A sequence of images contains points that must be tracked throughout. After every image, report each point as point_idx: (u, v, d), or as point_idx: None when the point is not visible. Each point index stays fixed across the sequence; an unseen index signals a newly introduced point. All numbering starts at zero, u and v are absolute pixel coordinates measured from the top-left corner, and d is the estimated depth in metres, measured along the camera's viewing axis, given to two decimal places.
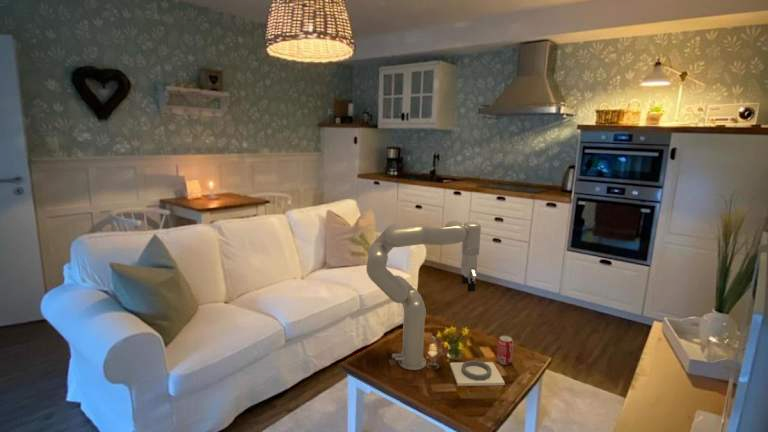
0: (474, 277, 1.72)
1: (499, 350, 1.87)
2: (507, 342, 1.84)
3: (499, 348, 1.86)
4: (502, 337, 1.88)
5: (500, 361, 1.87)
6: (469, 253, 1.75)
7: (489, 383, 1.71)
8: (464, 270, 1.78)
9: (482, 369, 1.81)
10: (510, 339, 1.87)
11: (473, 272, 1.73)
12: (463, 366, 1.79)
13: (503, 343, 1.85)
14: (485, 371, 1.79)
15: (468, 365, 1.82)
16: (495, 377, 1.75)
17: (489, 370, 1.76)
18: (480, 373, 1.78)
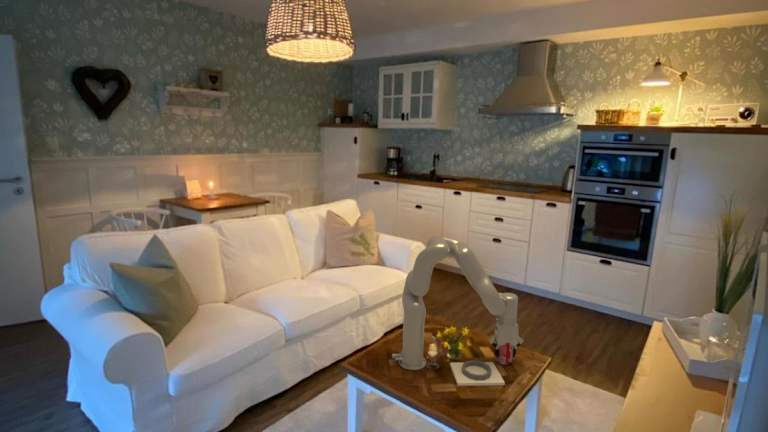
0: None
1: (499, 350, 1.87)
2: None
3: (499, 348, 1.86)
4: None
5: (500, 361, 1.87)
6: None
7: (489, 383, 1.71)
8: (513, 340, 1.84)
9: (482, 369, 1.81)
10: None
11: None
12: (463, 366, 1.79)
13: None
14: (485, 371, 1.79)
15: (468, 365, 1.82)
16: (495, 377, 1.75)
17: (489, 370, 1.76)
18: (480, 373, 1.78)
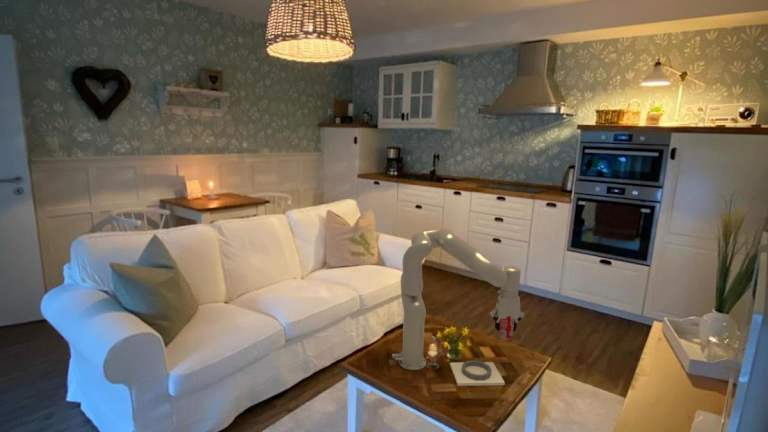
0: None
1: (500, 324, 1.84)
2: None
3: (500, 322, 1.84)
4: None
5: (500, 335, 1.84)
6: (517, 295, 1.82)
7: (489, 383, 1.71)
8: (514, 313, 1.82)
9: (482, 369, 1.81)
10: None
11: None
12: (463, 366, 1.79)
13: None
14: (485, 371, 1.79)
15: (468, 365, 1.82)
16: (495, 377, 1.75)
17: (489, 370, 1.76)
18: (480, 373, 1.78)
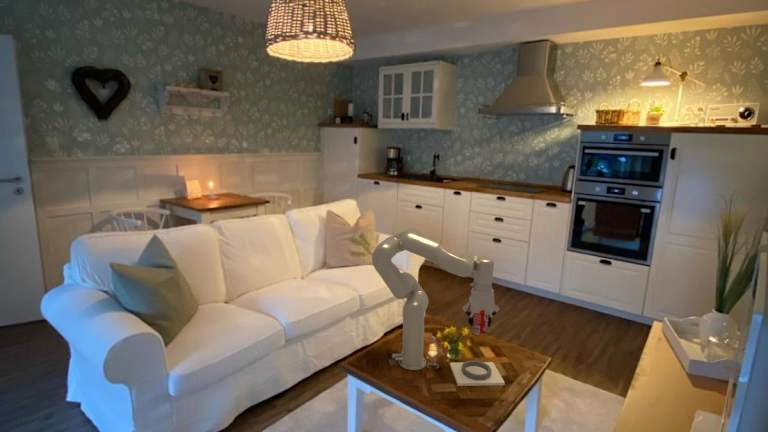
0: None
1: (473, 319, 1.72)
2: (482, 310, 1.70)
3: (473, 316, 1.72)
4: None
5: (474, 330, 1.73)
6: (491, 288, 1.70)
7: (489, 383, 1.71)
8: (488, 307, 1.70)
9: (482, 369, 1.81)
10: None
11: None
12: (463, 366, 1.79)
13: None
14: (485, 371, 1.79)
15: (468, 365, 1.82)
16: (495, 377, 1.75)
17: (489, 370, 1.76)
18: (480, 373, 1.78)
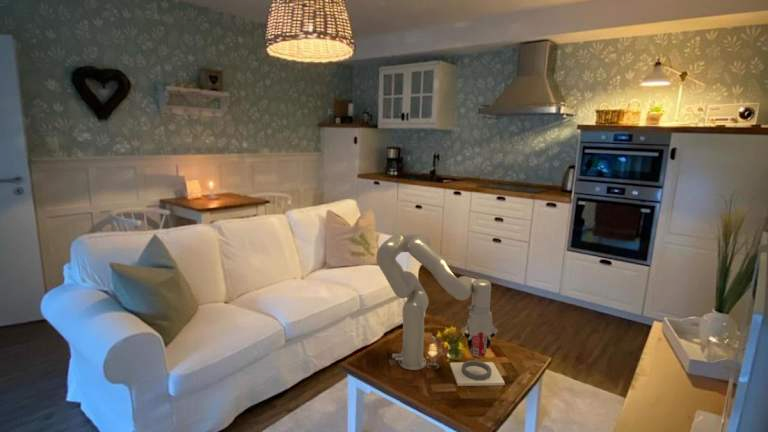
0: None
1: (472, 341, 1.74)
2: (480, 332, 1.72)
3: (472, 339, 1.74)
4: None
5: (473, 353, 1.74)
6: (489, 310, 1.72)
7: (489, 383, 1.71)
8: (486, 329, 1.72)
9: (482, 369, 1.81)
10: None
11: (494, 327, 1.75)
12: (463, 366, 1.79)
13: None
14: (485, 371, 1.79)
15: (468, 365, 1.82)
16: (495, 377, 1.75)
17: (489, 370, 1.76)
18: (480, 373, 1.78)
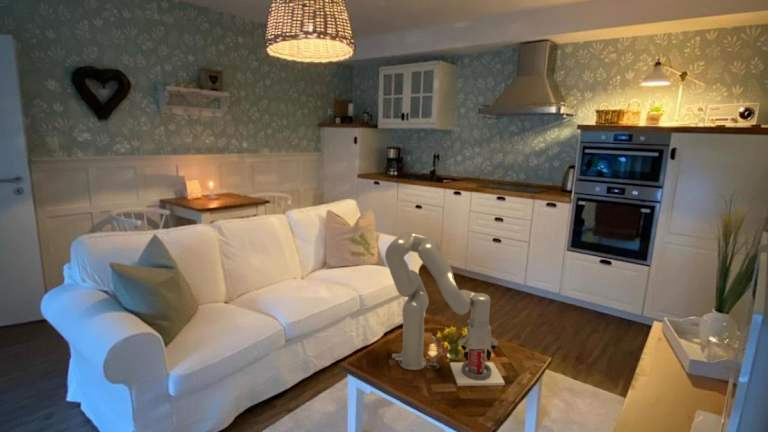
0: None
1: (470, 359, 1.75)
2: (478, 351, 1.73)
3: (470, 357, 1.75)
4: None
5: (471, 371, 1.76)
6: (488, 324, 1.73)
7: (489, 383, 1.71)
8: (485, 343, 1.73)
9: None
10: None
11: (494, 339, 1.76)
12: (463, 366, 1.79)
13: (474, 353, 1.74)
14: (485, 371, 1.79)
15: None
16: (495, 377, 1.75)
17: (489, 370, 1.76)
18: None
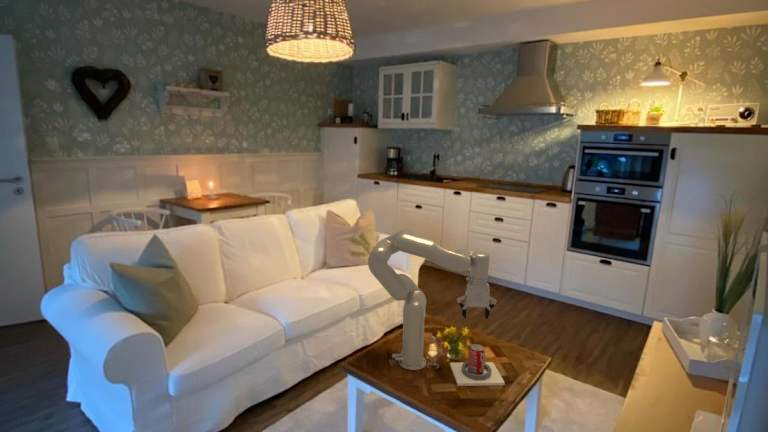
0: None
1: (470, 359, 1.76)
2: (478, 351, 1.73)
3: (470, 357, 1.75)
4: (473, 346, 1.78)
5: (471, 371, 1.76)
6: None
7: (489, 383, 1.71)
8: (483, 301, 1.74)
9: None
10: (481, 348, 1.76)
11: (492, 298, 1.76)
12: (463, 366, 1.79)
13: (473, 352, 1.74)
14: (485, 371, 1.79)
15: None
16: (495, 377, 1.75)
17: (489, 370, 1.76)
18: None
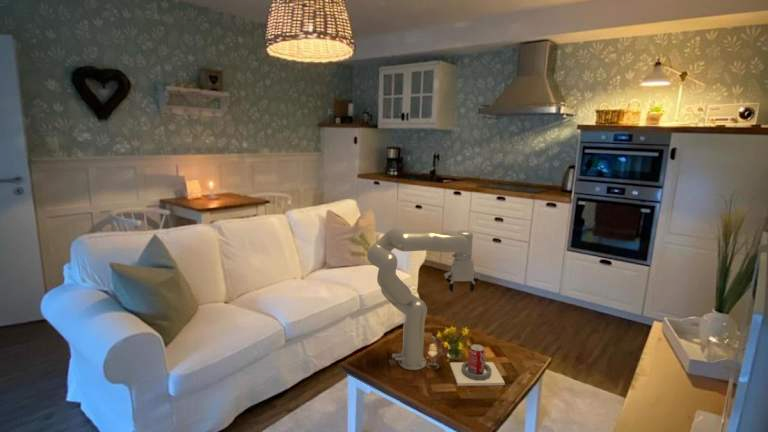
0: None
1: (470, 360, 1.76)
2: (478, 351, 1.73)
3: (470, 358, 1.75)
4: (473, 346, 1.77)
5: (471, 371, 1.76)
6: None
7: (489, 383, 1.71)
8: (468, 275, 1.90)
9: None
10: (481, 348, 1.75)
11: (476, 272, 1.93)
12: (463, 366, 1.79)
13: (473, 353, 1.74)
14: (485, 371, 1.79)
15: None
16: (495, 377, 1.75)
17: (489, 370, 1.76)
18: None
